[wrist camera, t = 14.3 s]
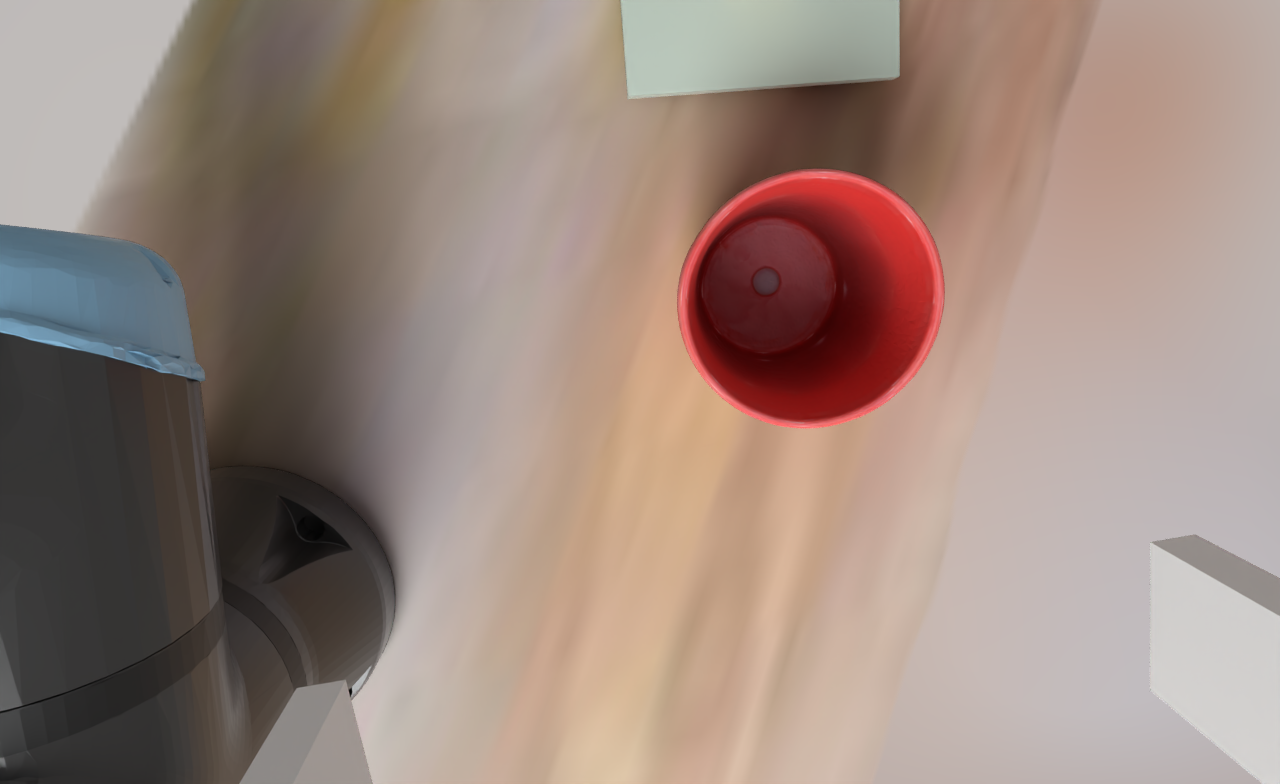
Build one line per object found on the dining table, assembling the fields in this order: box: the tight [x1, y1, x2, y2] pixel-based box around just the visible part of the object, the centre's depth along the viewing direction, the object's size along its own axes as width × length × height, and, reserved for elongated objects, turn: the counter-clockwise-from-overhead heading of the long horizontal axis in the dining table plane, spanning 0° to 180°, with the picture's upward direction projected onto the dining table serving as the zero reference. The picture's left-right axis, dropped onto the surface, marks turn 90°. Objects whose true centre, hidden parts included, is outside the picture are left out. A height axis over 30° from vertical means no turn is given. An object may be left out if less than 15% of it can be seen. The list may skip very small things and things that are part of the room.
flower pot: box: [677, 168, 945, 428], centre depth 37 cm, size 11×11×10 cm
